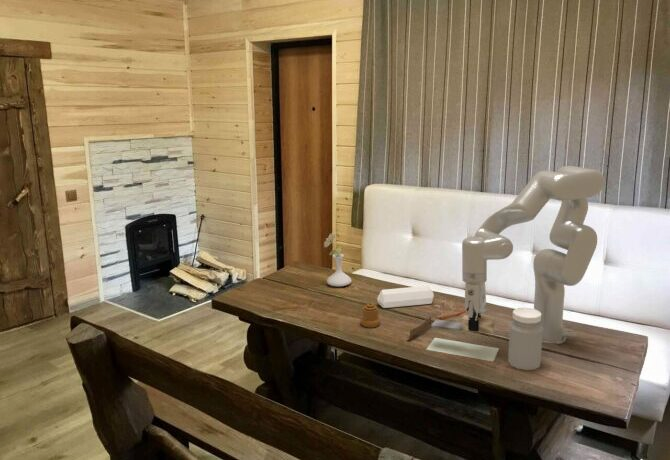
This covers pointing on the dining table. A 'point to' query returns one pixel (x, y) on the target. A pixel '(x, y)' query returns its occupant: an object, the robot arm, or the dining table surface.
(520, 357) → the jar
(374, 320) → the ornamental finial
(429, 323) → the wood plank
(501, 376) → the dining table surface
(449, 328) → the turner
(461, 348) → the board
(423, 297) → the crystal
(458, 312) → the axe
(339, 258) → the flower in vase
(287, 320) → the dining table surface
